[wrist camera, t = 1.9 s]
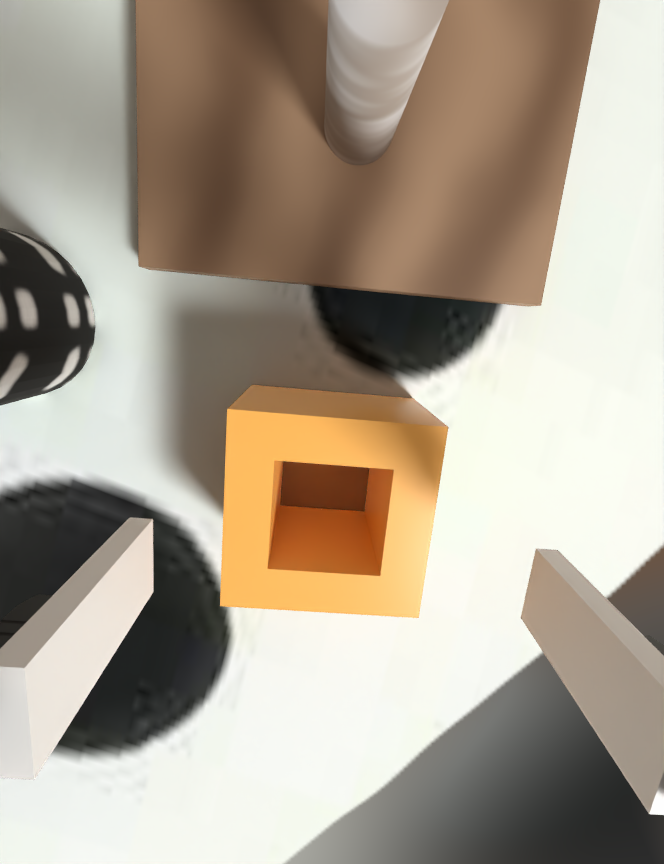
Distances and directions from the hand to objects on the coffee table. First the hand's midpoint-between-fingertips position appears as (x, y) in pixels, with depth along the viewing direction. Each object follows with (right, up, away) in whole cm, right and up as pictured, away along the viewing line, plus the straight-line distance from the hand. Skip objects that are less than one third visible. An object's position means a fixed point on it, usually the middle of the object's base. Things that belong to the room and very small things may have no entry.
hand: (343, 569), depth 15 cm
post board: (+1, +19, +7) cm, 20 cm away
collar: (-1, +3, +11) cm, 11 cm away
